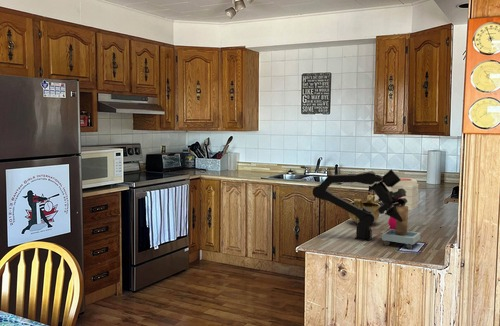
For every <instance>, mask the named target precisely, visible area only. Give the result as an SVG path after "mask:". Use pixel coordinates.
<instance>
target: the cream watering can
mask: <svg viewBox="0 0 500 326" xmlns="http://www.w3.org/2000/svg"><path fill="white" fill-rule="evenodd" d="M399 178H400V179H401V181H399V182H398V183H397V184H396V185H394V186H393V187H392V188H391V187H387V186H386V188H387V189H388V190H389V191H392V192H393V193H394V192H397V191H398V189H401V188H403V189H404V190H405V191H406V196H405V197H404V196H403V197H401V198H406V200H407V201H408V202H407V203H406V204H405V206H408V211H412V210H414V209H416V208H418V207H419V186H420V184H419V183H418V180H417V179H416V178H411V177H399ZM374 196H375V201H374V203H376V202H380V201H379V200H378V199H379V197H378V196H377V195H376V194H374Z"/></svg>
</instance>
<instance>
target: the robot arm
mask: <svg viewBox="0 0 500 326" xmlns="http://www.w3.org/2000/svg"><path fill="white" fill-rule="evenodd" d="M400 178H401V177H400V176H399V175H398V174H397V173H395V171H393V169H391V168H390V169H389V170H388V171H387V172H386V173H385V174H384V175H381V174H380V175H379V174H376V173H375V172H374V171H373V170H368V171H365V172H360V173H350V174H348V173H345V174H342V173H341V174H332V173H331V174H328V175H327V176H326V178H325V179H324V180H323V181H322V182H321V183H320V184H316V185H315V187H314V188H313V189H312V195H313V197H314V198H317V199H319V200H323V201H327V202H329V203H332V204H333V205H335V206H337V207H340V208H341V209H343V210H345V211H346V212H348V213H349V212H350V213H352V214H354V215H355V216H356V217H357V218H358V219H359V220H358V223H356V224H357V225H356V228H355V229H356V232H355V233H356V235H355V236H356V237H355V238H354V240H359V241H365V242H366V241H367V242H368V241H370V240H372V239H373V229H372V226H371V225H372V224H374V223H375V222H374V219H375V215H374V213H373V212H372V211H371V209H368V208H366V207H365V206H364V207H363V208H359V207H357V206H355V205H353V204H351V202H349V201H347V200H345V199H344V198H341V197H340V196H337V195H336V194H334V193H333V192H332V191H331V190H329V189H328V188H329V187H330V186H331V185H332V184H335V183H336V184H337V183H359V184H364V185H368V189H367V191H368V192H369V193H372V192H374V193H375V195H377V196H378V197H379V199H378V200H379V201H378V202H382V204H381V205H380V207H379V208H378V211H379V213H380V214H379V215H383V214H384V215H385V216H389V218H390V217H392V218H394V219H396V220H398V221H400V222H402V221H403V220H402V218H401V216H400V215H399V213H398V212H397V206H405V204H406V203H407V202H408V201H407V200H406V198H401V199H399V198H400V197H403V196H404V197H405V196H406V191H405V190H404V189H403V188H401V189H398V191H397V192H394V193H393V192H392V191H389V190H388V189H387V188H386V187H391V188H392V187H393V186H394V185H396V184H397V183H398V182H399V181H401V179H400ZM373 222H374V223H373Z"/></svg>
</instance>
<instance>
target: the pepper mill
mask: <svg viewBox="0 0 500 326" xmlns="http://www.w3.org/2000/svg"><path fill="white" fill-rule="evenodd" d="M399 199H401V197H400V198H399ZM387 223H388V224H387V225H389V227H388V230H390V229H395V230H396V219H394V218H392V217H390V216H389V219H388V221H387Z"/></svg>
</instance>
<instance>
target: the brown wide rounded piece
mask: <svg viewBox="0 0 500 326" xmlns="http://www.w3.org/2000/svg"><path fill="white" fill-rule="evenodd" d="M374 195H375V194H374ZM374 195H373V194H368V195H367V196H366V199H365V201H363V200H362V199H359V198H354V200H353V201H350V203H351V204H353V205H355V206H357V207H359V208H363V207H364V206H365V207H366V208H368V209H371V211H372V212H373V213H374V215H375V219H374V222H373V223H372V224H374V223H376V221H378V219H379V217H380V215H381V214H380V213H379V211H378V208H379V207H380V206H381V205H380V204H379V203H376V202H374V201H375V196H374ZM348 216H349V218H350V219H351V220H352V221H353V223H356V224H357V223H358V220H359V219H358V218H357V217H356V216H355V215H354V214H352V213H350V212H348Z"/></svg>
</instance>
